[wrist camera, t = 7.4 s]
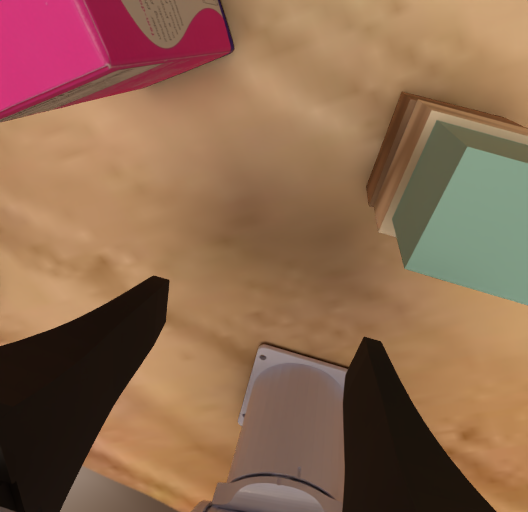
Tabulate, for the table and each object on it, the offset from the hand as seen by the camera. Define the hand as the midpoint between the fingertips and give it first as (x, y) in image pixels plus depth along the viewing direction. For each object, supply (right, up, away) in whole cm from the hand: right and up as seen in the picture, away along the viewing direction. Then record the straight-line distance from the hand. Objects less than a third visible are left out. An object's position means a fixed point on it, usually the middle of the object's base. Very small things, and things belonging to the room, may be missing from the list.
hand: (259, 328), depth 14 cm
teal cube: (+8, +5, +1) cm, 9 cm away
